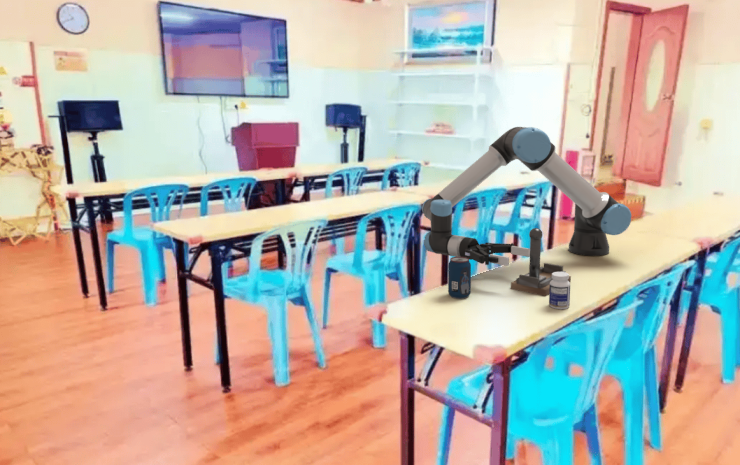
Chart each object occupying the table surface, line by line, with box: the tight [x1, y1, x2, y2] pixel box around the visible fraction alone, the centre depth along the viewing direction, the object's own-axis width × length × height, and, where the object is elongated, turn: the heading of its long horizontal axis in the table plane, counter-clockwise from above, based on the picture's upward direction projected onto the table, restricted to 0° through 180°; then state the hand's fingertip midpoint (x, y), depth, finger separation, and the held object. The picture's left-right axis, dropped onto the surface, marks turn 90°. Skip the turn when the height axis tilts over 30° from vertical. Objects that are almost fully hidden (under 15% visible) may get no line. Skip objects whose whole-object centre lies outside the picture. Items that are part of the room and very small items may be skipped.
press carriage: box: [526, 227, 546, 283], centre depth 176 cm, size 5×6×18 cm
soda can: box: [447, 256, 472, 300], centre depth 173 cm, size 7×7×12 cm
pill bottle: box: [548, 272, 571, 310], centre depth 162 cm, size 6×6×10 cm
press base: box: [510, 262, 572, 297], centre depth 182 cm, size 18×13×5 cm
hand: (519, 257), depth 180 cm, fingers open, 13 cm apart
